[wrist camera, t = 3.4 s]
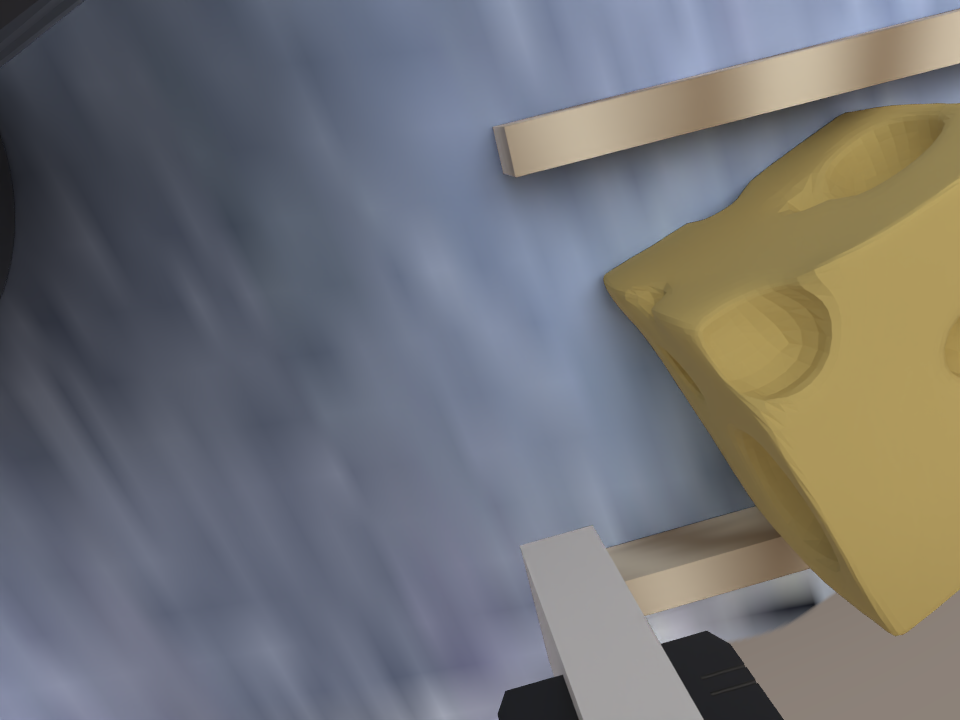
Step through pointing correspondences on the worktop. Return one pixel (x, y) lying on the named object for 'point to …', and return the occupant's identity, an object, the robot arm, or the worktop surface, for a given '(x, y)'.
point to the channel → (680, 110)
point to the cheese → (831, 349)
